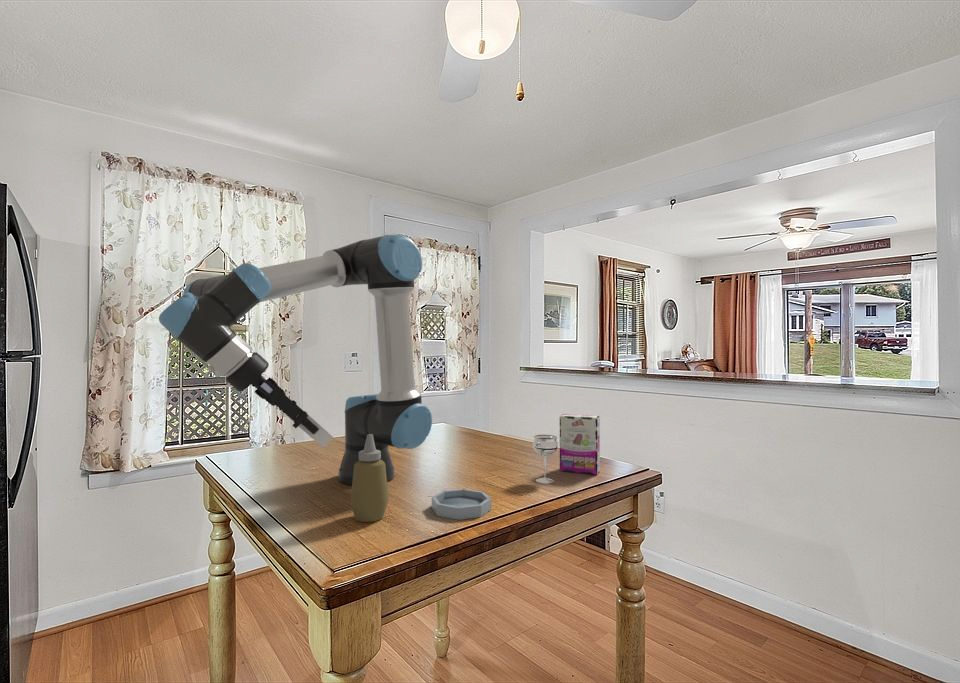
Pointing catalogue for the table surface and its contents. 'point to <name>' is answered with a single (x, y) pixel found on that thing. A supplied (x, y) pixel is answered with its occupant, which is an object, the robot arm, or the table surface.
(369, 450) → the squeeze bottle
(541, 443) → the wineglass
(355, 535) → the table surface
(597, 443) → the candy bar box
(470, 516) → the octagonal tray
